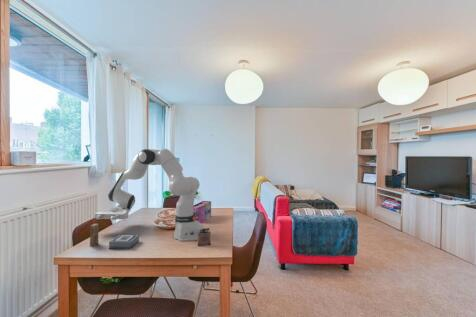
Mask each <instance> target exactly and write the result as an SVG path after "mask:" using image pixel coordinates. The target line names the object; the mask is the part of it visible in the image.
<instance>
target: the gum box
mask: <svg viewBox="0 0 476 317" xmlns="http://www.w3.org/2000/svg"><path fill="white" fill-rule="evenodd" d="M193 214H194V215H196V220H197V221H198V222H199V223H201V224H202V223H204V222H205V221H207V220H209V218H211V217H212V201H210V200H209V201H208V200H203V201H201V202H198V203H196V204H193Z"/></svg>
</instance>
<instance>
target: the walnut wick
mask: <svg viewBox="0 0 476 317" xmlns="http://www.w3.org/2000/svg"><path fill="white" fill-rule="evenodd" d="M98 244H99V223H93V224H91V225H89V246H90V247H95V246H97V245H98Z"/></svg>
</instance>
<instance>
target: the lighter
mask: <svg viewBox="0 0 476 317" xmlns="http://www.w3.org/2000/svg"><path fill="white" fill-rule="evenodd" d="M210 229H211V228H209V227H207V228H206V227H204V228H202V229H200V232H199V233H198V240H197V247H206V246H207V247H208V246H211V245H212V244H211V243H212V242H211V234H212V232H211V231H210Z"/></svg>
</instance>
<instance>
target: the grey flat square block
mask: <svg viewBox="0 0 476 317" xmlns="http://www.w3.org/2000/svg"><path fill="white" fill-rule="evenodd" d="M139 242H140V234H118V235H117V236H115V237H114V238H112V239H111V240H109V242H108V249H109V250H131V249H132V248H133V247H134V246H135V245H137V243H139Z"/></svg>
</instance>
